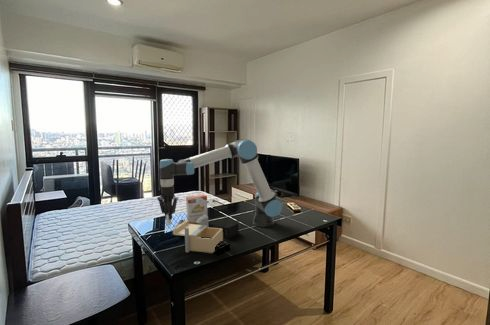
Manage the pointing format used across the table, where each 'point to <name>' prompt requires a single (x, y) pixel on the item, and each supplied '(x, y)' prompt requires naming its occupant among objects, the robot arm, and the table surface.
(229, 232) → the digital camera
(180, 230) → the lid
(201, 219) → the bar
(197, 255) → the table surface
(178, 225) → the ceramic sculpture
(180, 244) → the table surface
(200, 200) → the cracker box
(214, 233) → the carton
